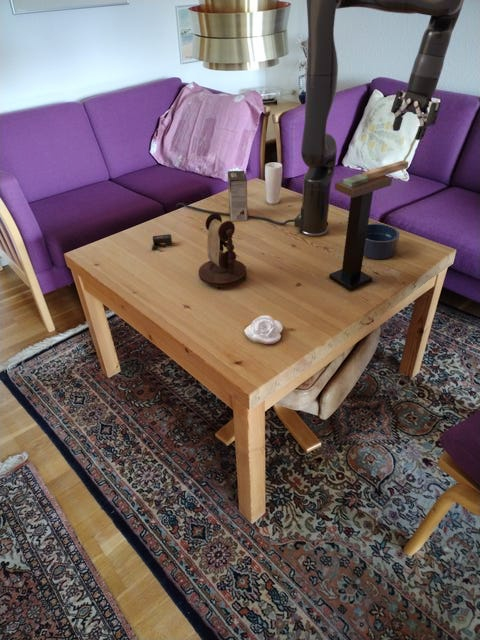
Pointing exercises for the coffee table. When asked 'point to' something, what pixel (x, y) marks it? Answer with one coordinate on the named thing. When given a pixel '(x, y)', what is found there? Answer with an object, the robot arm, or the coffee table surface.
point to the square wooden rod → (375, 173)
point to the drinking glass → (273, 182)
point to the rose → (264, 330)
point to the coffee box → (237, 195)
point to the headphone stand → (357, 231)
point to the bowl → (381, 241)
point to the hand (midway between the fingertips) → (406, 134)
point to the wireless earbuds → (161, 241)
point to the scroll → (221, 255)
